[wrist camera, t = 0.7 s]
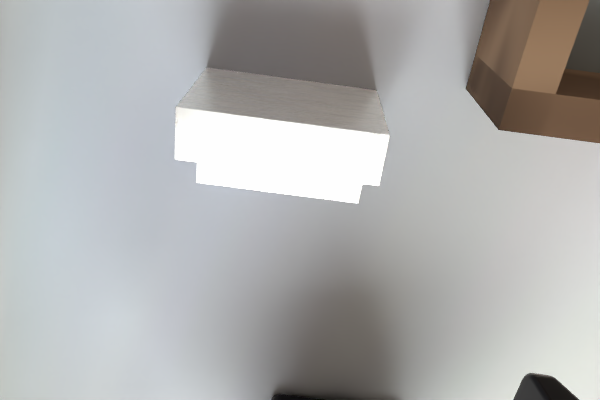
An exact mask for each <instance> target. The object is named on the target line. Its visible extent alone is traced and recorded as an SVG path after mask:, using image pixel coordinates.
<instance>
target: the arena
mask: <svg viewBox="0 0 600 400" xmlns="http://www.w3.org/2000/svg"><path fill="white" fill-rule="evenodd" d="M466 90H467V91H468V92H469V93H470V95H471V96H472V97H473V98H474V100H475V101H476V102H477V103H478V105H479V106H480V107H481V108H482V110H483V111H484V112H485V113H486V115H487V116H488V117H489V118H490V120H491V121H492V122H493V123H494V125H495V126H496V127H497V128H498V130H504V131H511V132H519V133H526V134H534V135H542V136H549V137H557V138H564V139H572V140H580V141H587V142H595V143H600V0H490V3H489V7H488V11H487V14H486V18H485V22H484V25H483V29H482V32H481V36H480V40H479V43H478V47H477V50H476V54H475V58H474V61H473V65H472V69H471V72H470V76H469V79H468V83H467V87H466Z"/></svg>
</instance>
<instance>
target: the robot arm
mask: <svg viewBox="0 0 600 400" xmlns="http://www.w3.org/2000/svg"><path fill="white" fill-rule="evenodd" d="M271 400H323V399H315V398H306V397H298V396H290V395H275V396H274V397H272V399H271ZM513 400H579V399H578V398H577V397H576V396H575V395H573V394H572V393H571V392H570V391H569V390H568V389H567V388H566V387H564V386H563V385H562V384H561V383H560V382H559V381H558V380H557V379H555V378H554V377H552V376H549V375H543V374H535V373H529V374H526V375H525V376H524V378H523V379H522V382H521V384H520V386H519V388H518V391H517V393H516V395H515V397H514V399H513Z"/></svg>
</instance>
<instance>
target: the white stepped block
mask: <svg viewBox="0 0 600 400" xmlns="http://www.w3.org/2000/svg"><path fill="white" fill-rule="evenodd" d="M389 138H390V134H389V130H388V127H387V123H386V120H385V117H384V113H383V110H382V106H381V103H380V100H379V96H378V93H377V90H372V89H364V88H357V87H349V86H342V85H335V84H327V83H320V82H312V81H305V80H298V79H290V78H283V77H275V76H268V75H261V74H253V73H246V72H238V71H231V70H224V69H216V68H209V67H206V69H205V70H204V71H203V72H202V74H201V75H200V76H199V77H198V79H197V80H196V81H195V83H194V84H193V85H192V86H191V88H190V89H189V90H188V92H187V93H186V94H185V95H184V97H183V98H182V99H181V101H180V102H179V103H178V104H177V106H176V114H175V160H183V161H191V162H197V180H196V183H204V184H211V185H219V186H227V187H235V188H242V189H250V190H258V191H265V192H273V193H281V194H288V195H296V196H304V197H312V198H319V199H327V200H335V201H342V202H350V203H359V198H360V193H361V188H362V184H367V185H374V186H379V183H380V179H381V174H382V170H383V165H384V160H385V156H386V151H387V147H388V142H389Z"/></svg>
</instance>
